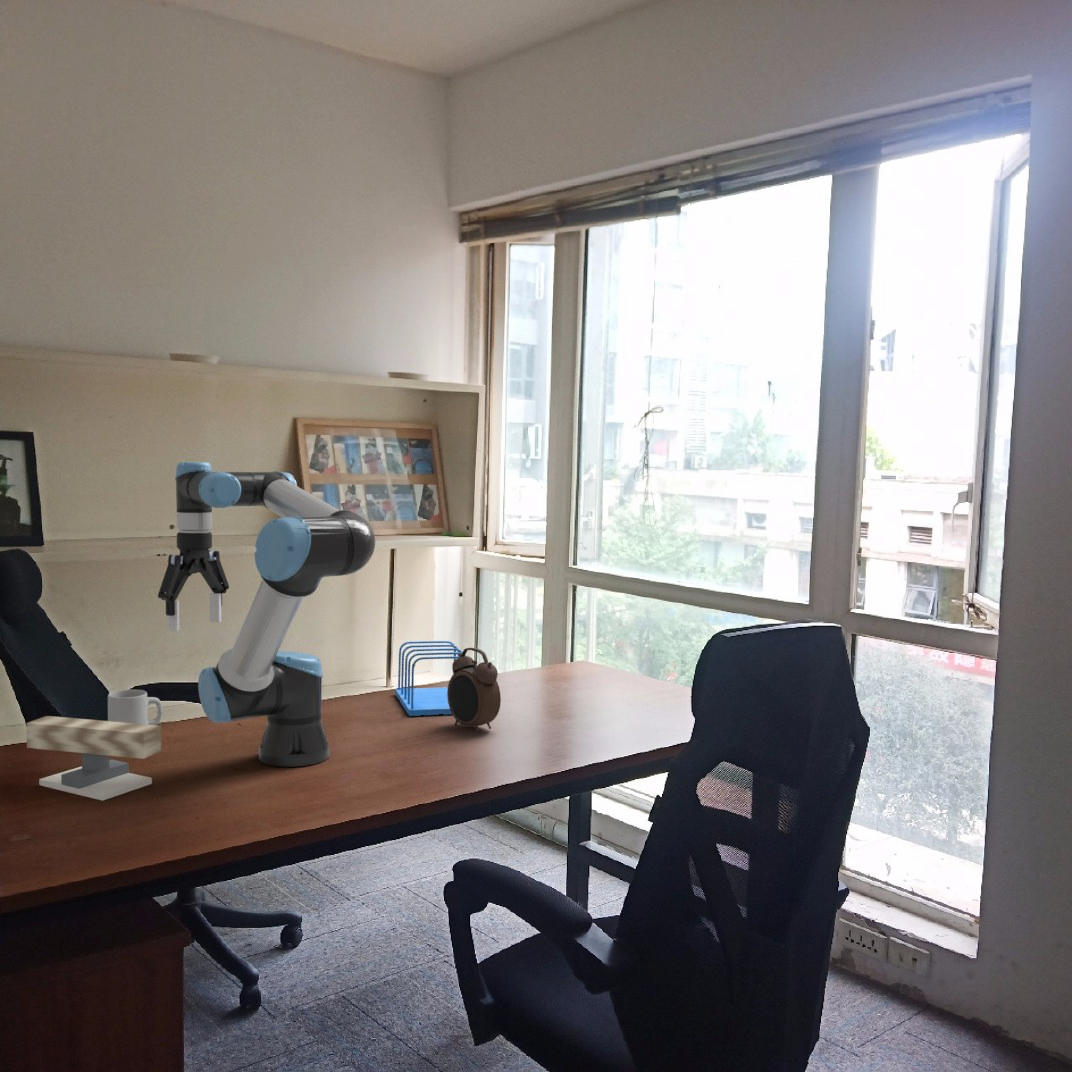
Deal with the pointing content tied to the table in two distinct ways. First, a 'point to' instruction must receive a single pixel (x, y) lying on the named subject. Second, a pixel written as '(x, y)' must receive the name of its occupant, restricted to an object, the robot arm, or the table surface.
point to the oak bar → (94, 737)
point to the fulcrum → (97, 778)
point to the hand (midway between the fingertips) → (195, 625)
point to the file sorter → (423, 698)
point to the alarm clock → (473, 691)
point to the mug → (132, 707)
